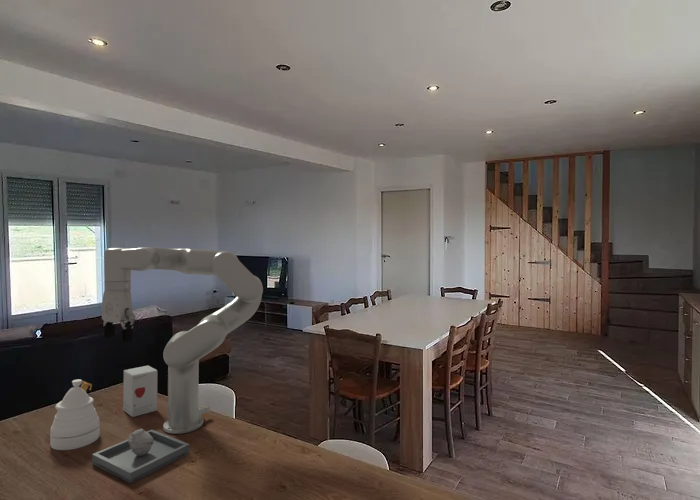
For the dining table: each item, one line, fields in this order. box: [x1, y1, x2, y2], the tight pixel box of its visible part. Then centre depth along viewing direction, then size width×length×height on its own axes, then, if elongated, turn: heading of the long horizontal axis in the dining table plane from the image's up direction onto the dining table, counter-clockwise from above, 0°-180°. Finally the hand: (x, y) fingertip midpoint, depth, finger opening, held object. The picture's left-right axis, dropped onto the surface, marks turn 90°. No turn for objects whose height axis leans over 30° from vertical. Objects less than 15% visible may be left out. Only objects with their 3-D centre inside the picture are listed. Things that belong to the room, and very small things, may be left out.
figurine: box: [79, 380, 93, 393], centre depth 150 cm, size 8×6×12 cm
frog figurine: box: [127, 428, 153, 456], centre depth 120 cm, size 6×7×7 cm
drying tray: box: [91, 429, 190, 485], centre depth 120 cm, size 18×18×3 cm
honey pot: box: [49, 378, 101, 451], centre depth 131 cm, size 13×13×18 cm
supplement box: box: [122, 365, 158, 418], centre depth 154 cm, size 9×9×15 cm
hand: (118, 339), depth 136 cm, fingers open, 9 cm apart
